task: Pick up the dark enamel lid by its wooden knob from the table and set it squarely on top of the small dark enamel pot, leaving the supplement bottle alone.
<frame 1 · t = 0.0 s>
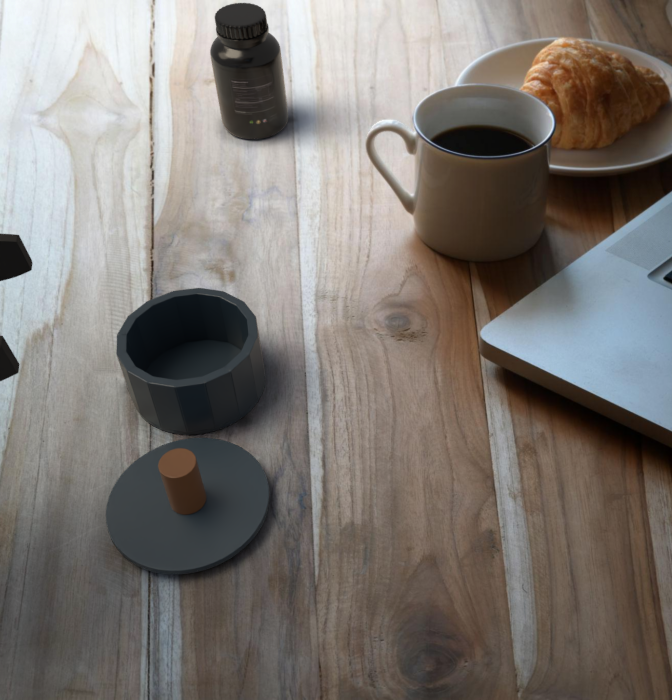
hand: (18, 300, 47), 21 cm above the table, tool horizontal, fingers open, 7 cm apart
pot: (199, 384, 72), on the table
lid: (189, 504, 63), point 1 cm above the table
supplement bottle: (256, 124, 97), on the table
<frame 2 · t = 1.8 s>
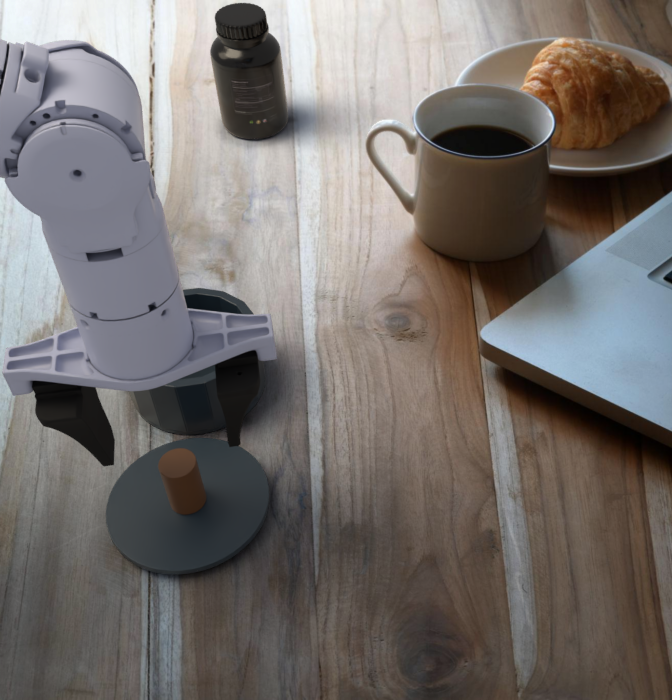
hand: (172, 443, 59), 7 cm above the table, tool pointing down, fingers open, 7 cm apart
nothing on the table moved.
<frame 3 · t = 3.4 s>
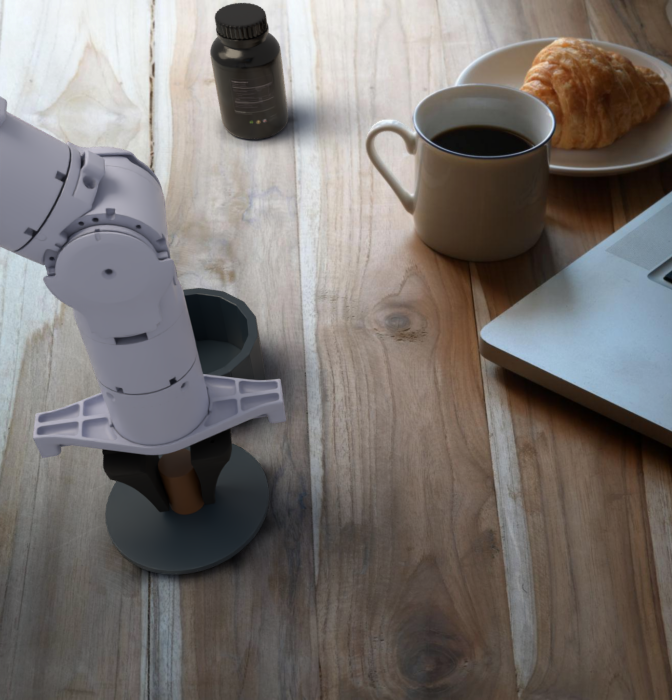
hand: (187, 495, 63), 2 cm above the table, tool pointing down, fingers closed on lid, 2 cm apart
lid: (189, 504, 63), point 1 cm above the table, touching gripper
everything else where it was.
when the fingers open (6 cm above the table, at t = 6.3 s): lid stays where it is, resting on pot.
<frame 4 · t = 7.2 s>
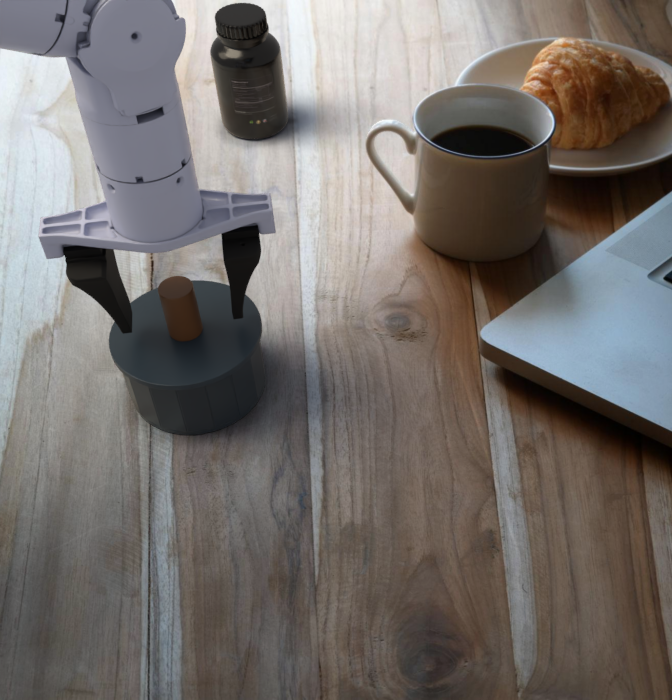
hand: (183, 316, 66), 7 cm above the table, tool pointing down, fingers open, 7 cm apart
lid: (187, 334, 68), point 5 cm above the table, touching pot
everything else where it was.
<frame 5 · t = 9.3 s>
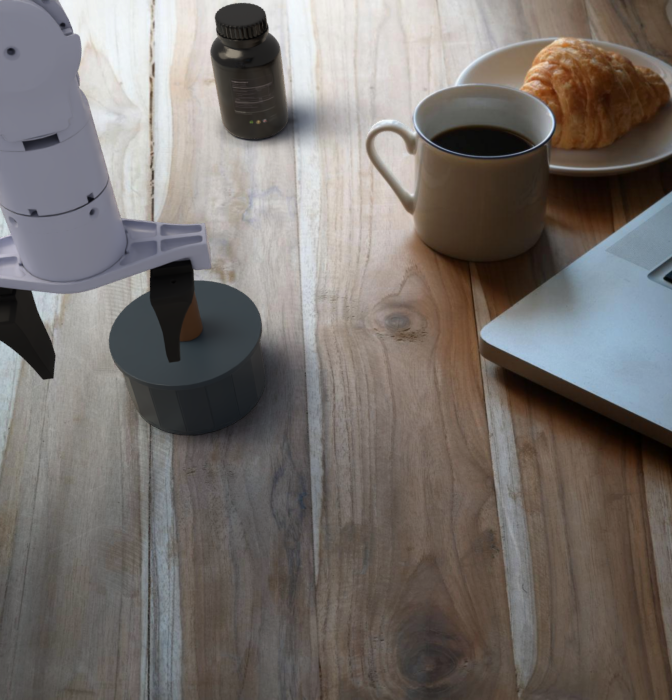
hand: (112, 359, 59), 10 cm above the table, tool pointing down, fingers open, 7 cm apart
nothing on the table moved.
at the end: lid 0.0 cm off-centre on the pot, point 5.4 cm above the pot's base; lid tilted 0°; supplement bottle moved 0.2 cm from its start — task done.
